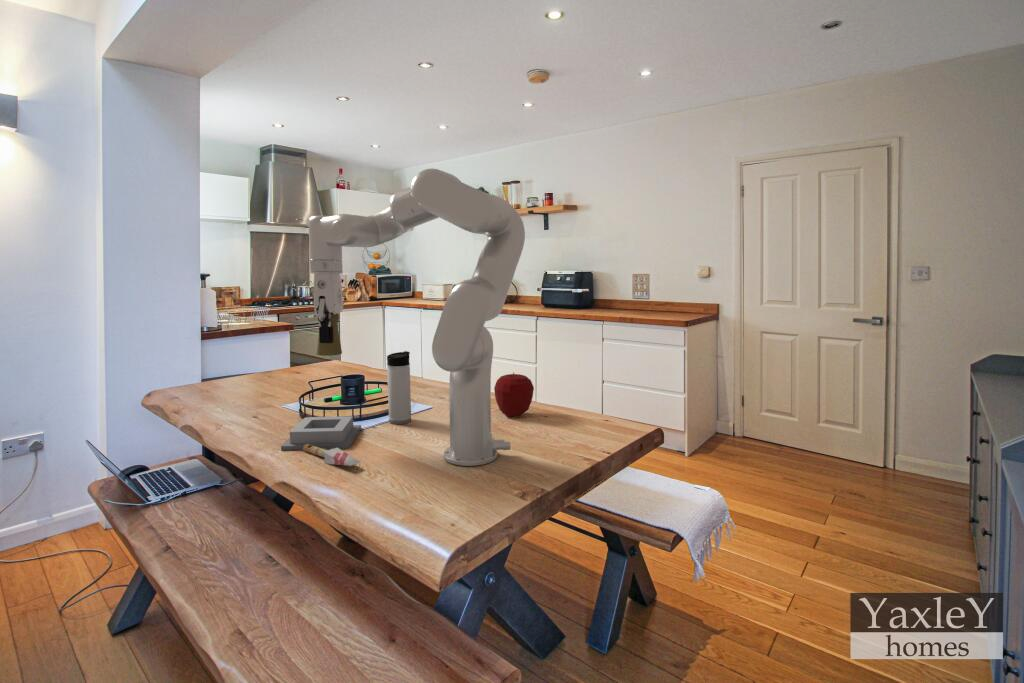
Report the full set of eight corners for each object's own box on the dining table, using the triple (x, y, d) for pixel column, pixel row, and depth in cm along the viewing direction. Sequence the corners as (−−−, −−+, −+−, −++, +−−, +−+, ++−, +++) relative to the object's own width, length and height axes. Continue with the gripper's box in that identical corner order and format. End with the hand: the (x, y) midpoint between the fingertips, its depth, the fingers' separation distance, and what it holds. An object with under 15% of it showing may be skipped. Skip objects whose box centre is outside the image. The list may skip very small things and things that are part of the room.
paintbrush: (347, 459, 116) (299, 444, 128) (348, 472, 116) (300, 455, 128) (362, 454, 119) (313, 440, 131) (363, 466, 119) (314, 450, 131)
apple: (534, 421, 153) (534, 376, 151) (493, 421, 153) (493, 376, 151) (533, 410, 165) (533, 368, 163) (495, 410, 165) (495, 367, 163)
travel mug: (416, 420, 154) (414, 352, 151) (397, 426, 149) (395, 355, 146) (403, 416, 158) (401, 350, 155) (384, 421, 153) (382, 352, 150)
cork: (347, 353, 135) (345, 309, 133) (327, 356, 130) (325, 311, 128) (331, 350, 138) (329, 308, 136) (311, 353, 133) (309, 309, 131)
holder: (361, 428, 147) (360, 414, 146) (348, 448, 131) (347, 432, 131) (301, 429, 146) (300, 415, 145) (281, 450, 130) (280, 434, 129)
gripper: (333, 268, 123) (336, 346, 126) (349, 267, 139) (351, 336, 142) (300, 267, 122) (303, 346, 125) (320, 266, 139) (322, 336, 141)
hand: (329, 340), depth 133 cm, fingers closed on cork, 4 cm apart
